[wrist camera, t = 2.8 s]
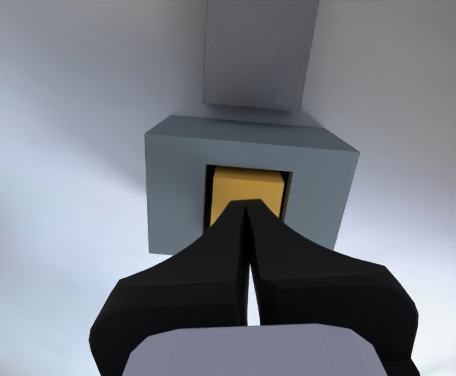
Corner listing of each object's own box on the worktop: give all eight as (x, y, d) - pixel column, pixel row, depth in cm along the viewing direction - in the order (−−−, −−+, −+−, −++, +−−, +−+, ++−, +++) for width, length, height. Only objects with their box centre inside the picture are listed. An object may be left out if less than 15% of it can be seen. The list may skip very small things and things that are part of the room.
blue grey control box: (325, 128, 16) (359, 152, 12) (305, 219, 19) (328, 268, 14) (163, 114, 16) (135, 133, 12) (164, 207, 19) (140, 252, 14)
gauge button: (274, 158, 15) (284, 183, 12) (266, 208, 16) (274, 243, 13) (218, 154, 15) (213, 177, 12) (215, 204, 16) (209, 237, 13)
